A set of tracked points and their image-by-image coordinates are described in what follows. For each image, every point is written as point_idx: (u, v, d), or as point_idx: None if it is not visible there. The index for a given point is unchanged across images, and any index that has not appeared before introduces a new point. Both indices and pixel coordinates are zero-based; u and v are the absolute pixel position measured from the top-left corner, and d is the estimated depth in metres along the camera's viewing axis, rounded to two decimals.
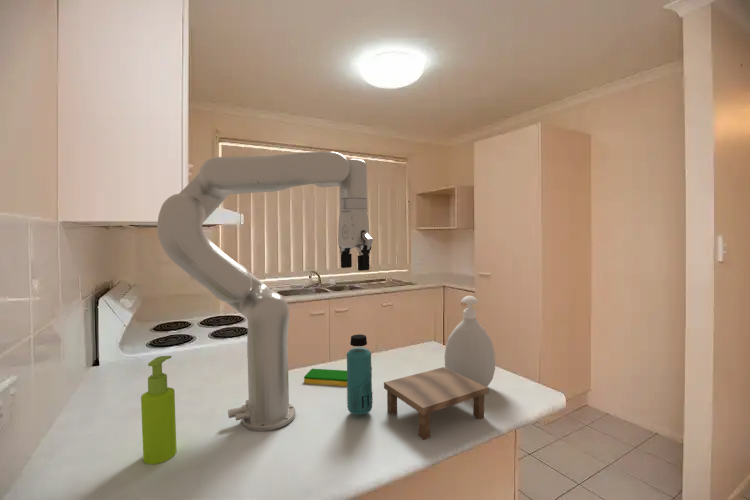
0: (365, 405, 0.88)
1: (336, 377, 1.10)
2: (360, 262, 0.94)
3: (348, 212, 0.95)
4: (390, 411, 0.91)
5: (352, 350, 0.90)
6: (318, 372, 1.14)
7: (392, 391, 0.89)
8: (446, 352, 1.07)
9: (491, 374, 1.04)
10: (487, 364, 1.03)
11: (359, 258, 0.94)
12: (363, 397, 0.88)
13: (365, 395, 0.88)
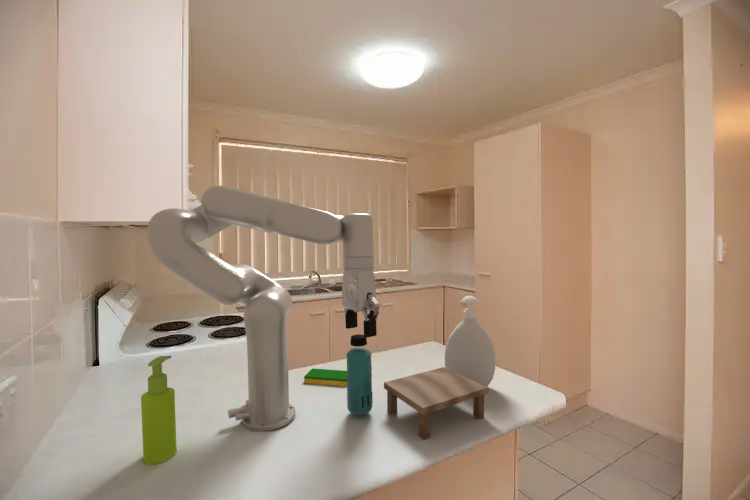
0: (365, 405, 0.88)
1: (336, 377, 1.09)
2: (366, 328, 0.85)
3: (352, 272, 0.87)
4: (390, 411, 0.91)
5: (352, 350, 0.90)
6: (318, 372, 1.14)
7: (392, 391, 0.89)
8: (446, 352, 1.07)
9: (491, 374, 1.04)
10: (487, 364, 1.03)
11: (365, 324, 0.85)
12: (363, 397, 0.88)
13: (365, 395, 0.88)
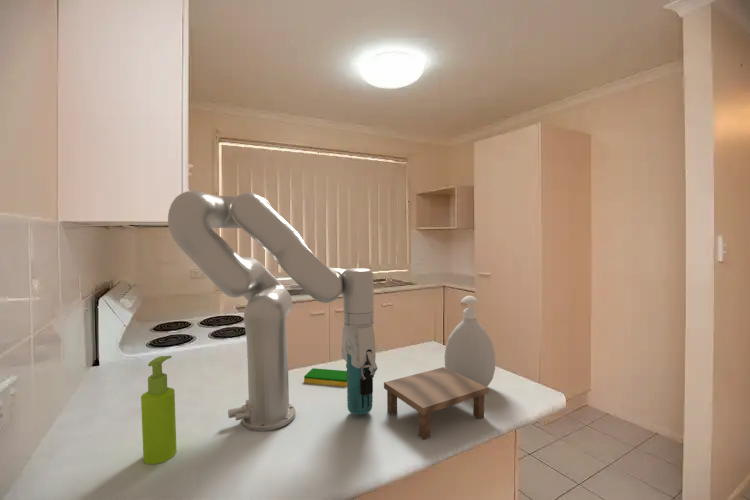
0: (365, 405, 0.88)
1: (336, 377, 1.09)
2: (363, 386, 0.87)
3: (352, 328, 0.87)
4: (390, 411, 0.91)
5: None
6: (318, 372, 1.14)
7: (392, 391, 0.89)
8: (446, 352, 1.07)
9: (491, 374, 1.04)
10: (487, 364, 1.03)
11: (362, 382, 0.87)
12: (363, 397, 0.88)
13: (365, 395, 0.88)
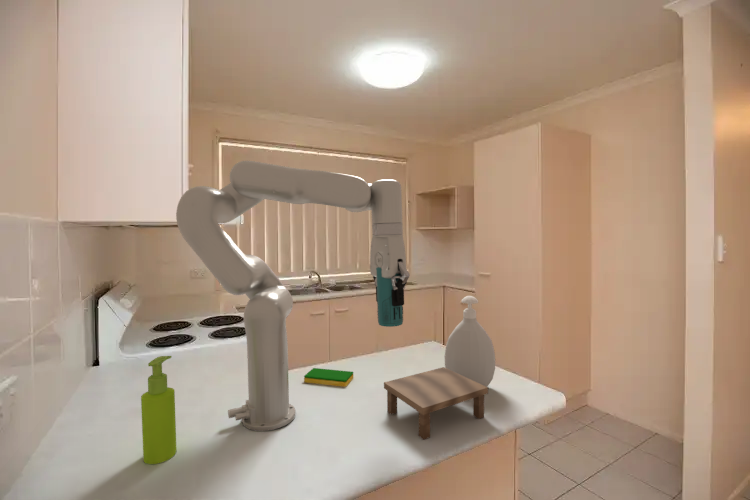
0: (396, 317, 0.87)
1: (335, 377, 1.09)
2: (394, 297, 0.86)
3: (382, 239, 0.86)
4: (390, 411, 0.91)
5: None
6: (319, 372, 1.14)
7: (392, 391, 0.89)
8: (446, 352, 1.07)
9: (491, 374, 1.04)
10: (487, 364, 1.03)
11: (393, 293, 0.85)
12: (395, 309, 0.87)
13: (396, 307, 0.87)
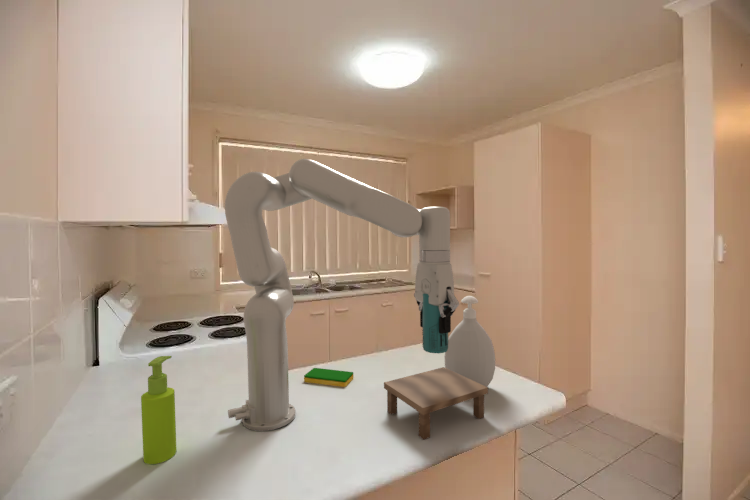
0: (443, 344, 0.87)
1: (335, 377, 1.09)
2: (442, 324, 0.86)
3: (431, 266, 0.86)
4: (390, 411, 0.91)
5: None
6: (319, 371, 1.14)
7: (392, 391, 0.89)
8: (446, 352, 1.07)
9: (491, 374, 1.04)
10: (487, 364, 1.03)
11: (441, 320, 0.85)
12: (442, 336, 0.87)
13: (443, 334, 0.87)
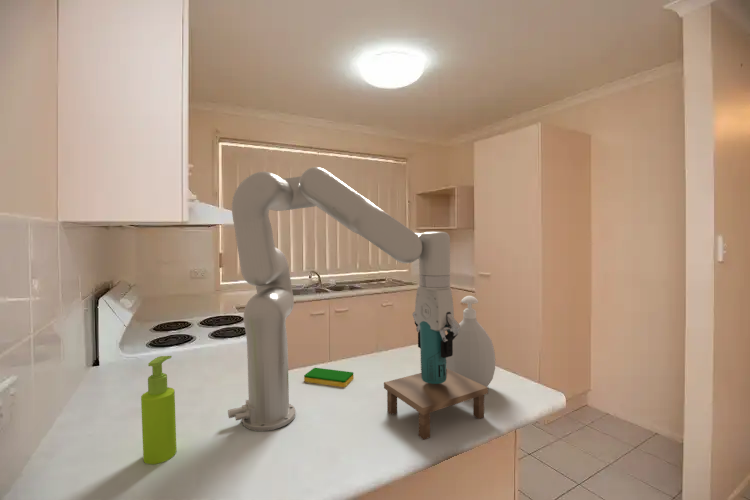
0: (441, 374, 0.87)
1: (334, 378, 1.09)
2: (444, 348, 0.85)
3: (431, 291, 0.86)
4: (390, 411, 0.91)
5: None
6: (319, 371, 1.14)
7: (392, 391, 0.89)
8: None
9: (491, 374, 1.04)
10: (487, 364, 1.03)
11: (443, 344, 0.85)
12: (440, 366, 0.87)
13: (441, 364, 0.87)
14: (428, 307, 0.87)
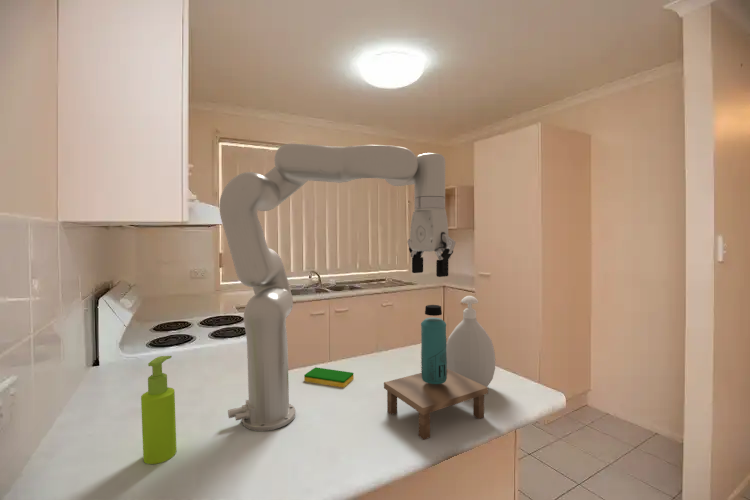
0: (441, 375, 0.87)
1: (334, 378, 1.09)
2: (439, 267, 0.85)
3: (425, 212, 0.86)
4: (390, 411, 0.91)
5: (427, 320, 0.89)
6: (319, 371, 1.14)
7: (392, 391, 0.89)
8: (446, 352, 1.07)
9: (491, 374, 1.04)
10: (487, 364, 1.03)
11: (438, 263, 0.85)
12: (440, 367, 0.87)
13: (442, 365, 0.87)
14: (423, 229, 0.87)
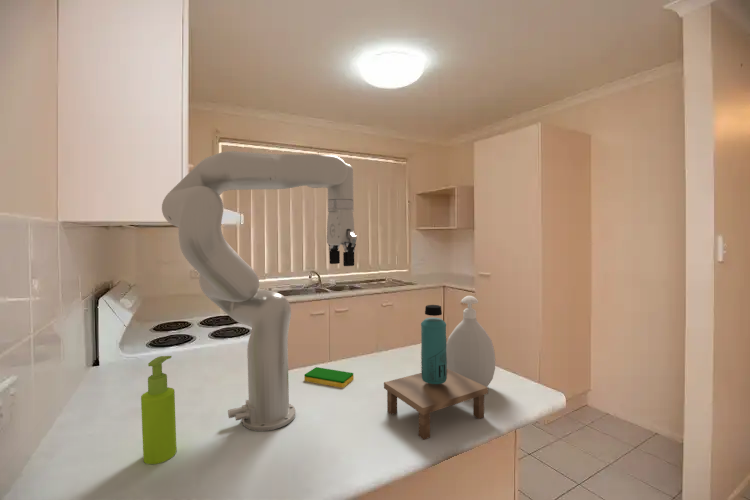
0: (441, 375, 0.87)
1: (333, 378, 1.09)
2: (345, 258, 1.02)
3: (335, 212, 1.03)
4: (390, 411, 0.91)
5: (427, 320, 0.89)
6: (319, 371, 1.14)
7: (392, 391, 0.89)
8: (446, 352, 1.07)
9: (491, 374, 1.04)
10: (487, 364, 1.03)
11: (344, 254, 1.02)
12: (440, 367, 0.87)
13: (442, 365, 0.87)
14: (333, 226, 1.04)
